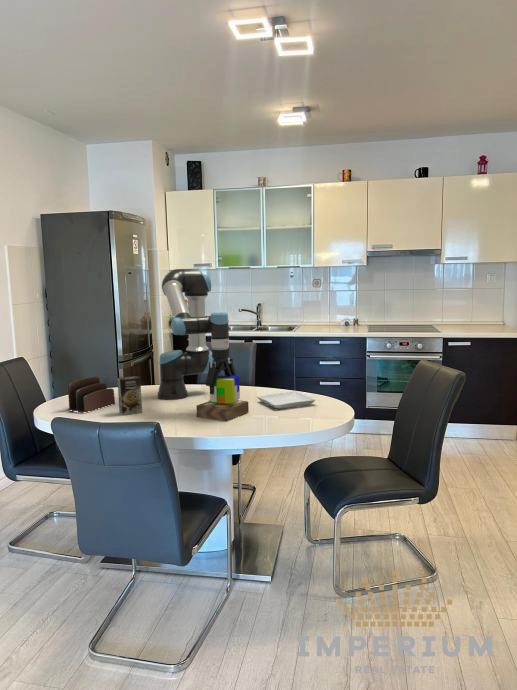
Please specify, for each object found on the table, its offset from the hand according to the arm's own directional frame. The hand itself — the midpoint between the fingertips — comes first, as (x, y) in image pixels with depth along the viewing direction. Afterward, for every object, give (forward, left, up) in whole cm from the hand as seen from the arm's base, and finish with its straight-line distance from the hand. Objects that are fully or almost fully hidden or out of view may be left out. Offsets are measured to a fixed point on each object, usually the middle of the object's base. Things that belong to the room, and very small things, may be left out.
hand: (222, 398), depth 220 cm
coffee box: (-40, -16, -7) cm, 44 cm away
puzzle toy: (+1, 0, -1) cm, 2 cm away
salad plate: (+14, +30, -8) cm, 34 cm away
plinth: (0, 0, -7) cm, 7 cm away
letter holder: (-64, -17, -8) cm, 67 cm away
